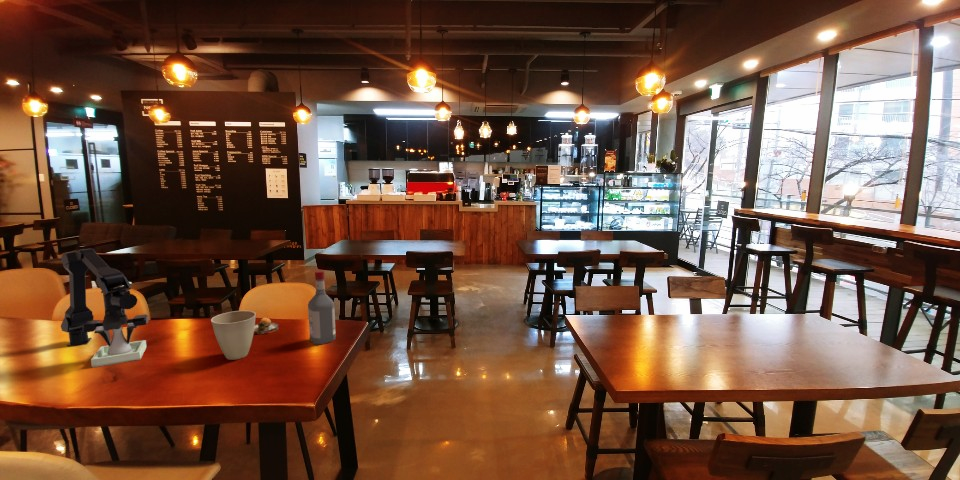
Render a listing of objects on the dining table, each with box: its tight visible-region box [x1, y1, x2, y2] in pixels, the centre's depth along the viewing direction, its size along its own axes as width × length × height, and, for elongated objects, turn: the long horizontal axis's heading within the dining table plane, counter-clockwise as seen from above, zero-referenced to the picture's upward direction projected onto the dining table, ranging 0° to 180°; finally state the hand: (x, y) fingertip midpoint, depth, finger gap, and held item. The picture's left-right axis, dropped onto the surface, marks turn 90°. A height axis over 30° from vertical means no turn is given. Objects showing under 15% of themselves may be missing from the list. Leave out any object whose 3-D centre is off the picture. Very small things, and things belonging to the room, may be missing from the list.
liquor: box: [307, 270, 337, 346], centre depth 181 cm, size 9×9×30 cm
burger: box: [253, 317, 279, 335], centre depth 195 cm, size 12×12×8 cm
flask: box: [107, 325, 133, 356], centre depth 165 cm, size 7×7×10 cm
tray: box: [90, 339, 147, 368], centre depth 166 cm, size 14×14×3 cm
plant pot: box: [210, 310, 257, 361], centre depth 166 cm, size 15×15×16 cm
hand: (119, 344), depth 165 cm, fingers closed on flask, 5 cm apart
